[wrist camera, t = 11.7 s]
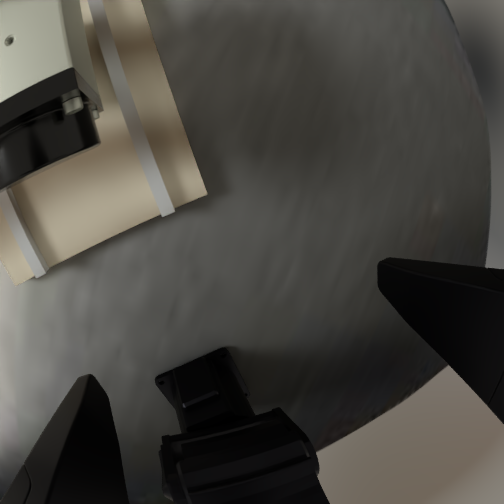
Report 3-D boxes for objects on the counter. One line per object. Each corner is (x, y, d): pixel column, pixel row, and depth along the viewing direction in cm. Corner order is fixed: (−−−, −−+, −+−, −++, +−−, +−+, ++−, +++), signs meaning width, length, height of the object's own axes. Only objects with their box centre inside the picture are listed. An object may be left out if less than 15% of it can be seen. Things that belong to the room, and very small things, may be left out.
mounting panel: (203, 191, 20) (210, 196, 18) (20, 278, 17) (12, 291, 15) (114, -77, 10) (115, -92, 8) (-58, 13, 8) (-69, 6, 6)
